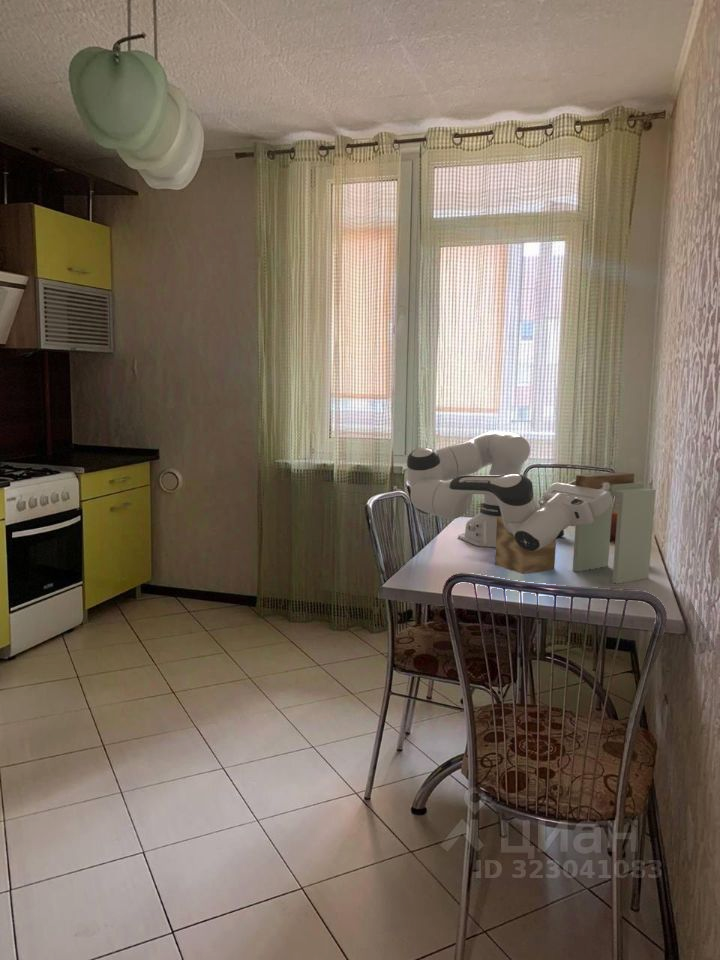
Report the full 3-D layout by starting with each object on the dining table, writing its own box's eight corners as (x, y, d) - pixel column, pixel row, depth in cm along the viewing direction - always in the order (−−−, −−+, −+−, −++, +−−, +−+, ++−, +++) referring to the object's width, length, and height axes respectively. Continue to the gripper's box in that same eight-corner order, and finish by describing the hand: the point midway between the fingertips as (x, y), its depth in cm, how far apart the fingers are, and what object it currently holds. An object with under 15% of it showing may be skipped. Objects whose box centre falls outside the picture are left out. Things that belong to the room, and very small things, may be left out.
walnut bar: (575, 489, 203) (576, 475, 203) (621, 485, 214) (622, 472, 213) (586, 491, 200) (587, 476, 200) (633, 487, 211) (634, 473, 210)
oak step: (494, 564, 221) (497, 516, 219) (525, 560, 228) (528, 513, 226) (522, 574, 211) (525, 523, 209) (554, 569, 218) (557, 520, 216)
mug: (593, 539, 262) (595, 511, 260) (597, 535, 269) (599, 508, 268) (628, 543, 256) (630, 515, 255) (631, 539, 264) (633, 511, 263)
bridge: (572, 570, 216) (578, 479, 212) (603, 565, 223) (610, 477, 220) (616, 583, 203) (623, 487, 199) (648, 577, 210) (656, 484, 206)
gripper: (538, 512, 209) (568, 486, 214) (595, 525, 191) (626, 496, 197) (531, 494, 206) (562, 468, 212) (588, 505, 189) (620, 477, 194)
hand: (594, 482), depth 204 cm, fingers open, 8 cm apart
